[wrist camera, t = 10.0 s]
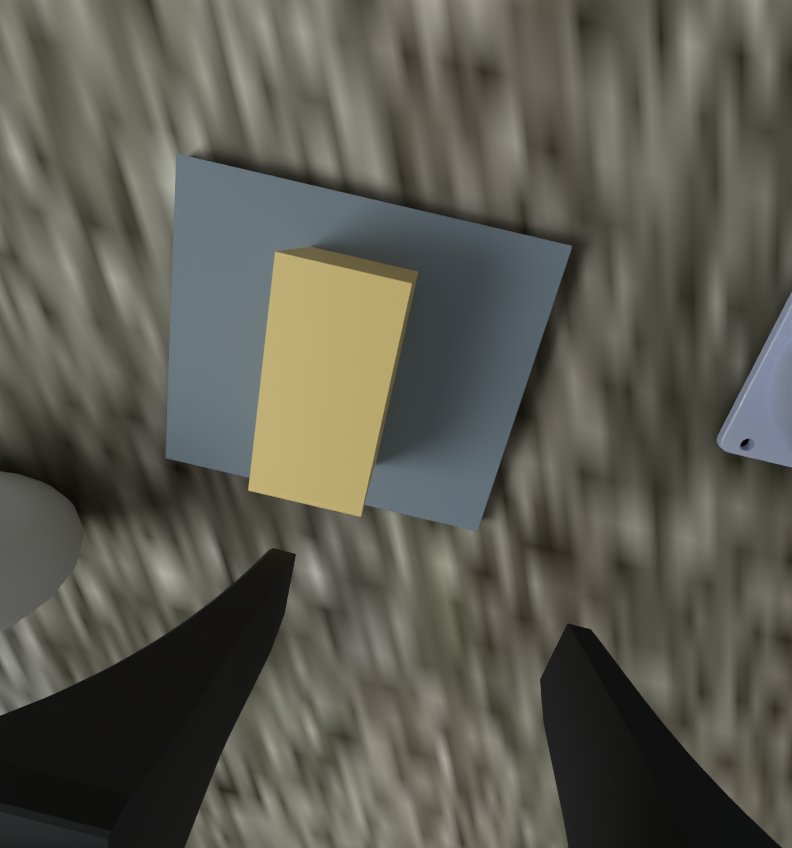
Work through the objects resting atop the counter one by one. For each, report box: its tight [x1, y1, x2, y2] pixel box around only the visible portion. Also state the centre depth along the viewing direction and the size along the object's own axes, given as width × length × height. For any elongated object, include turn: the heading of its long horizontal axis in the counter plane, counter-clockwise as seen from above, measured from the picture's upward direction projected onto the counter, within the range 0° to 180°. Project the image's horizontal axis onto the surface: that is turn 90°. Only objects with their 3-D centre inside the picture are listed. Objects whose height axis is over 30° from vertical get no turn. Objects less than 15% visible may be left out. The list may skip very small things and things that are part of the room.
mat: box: [166, 154, 572, 531], centre depth 20 cm, size 14×12×1 cm
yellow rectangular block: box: [248, 246, 418, 517], centre depth 17 cm, size 8×4×4 cm, turn 168°
